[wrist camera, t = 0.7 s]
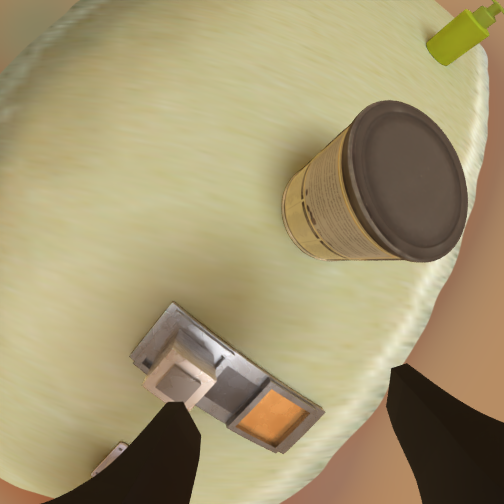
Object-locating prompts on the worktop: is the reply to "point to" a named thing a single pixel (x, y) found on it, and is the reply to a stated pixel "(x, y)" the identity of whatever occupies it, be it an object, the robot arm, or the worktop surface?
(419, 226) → the coffee can
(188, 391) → the block
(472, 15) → the soap dispenser
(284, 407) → the rail
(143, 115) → the worktop surface
